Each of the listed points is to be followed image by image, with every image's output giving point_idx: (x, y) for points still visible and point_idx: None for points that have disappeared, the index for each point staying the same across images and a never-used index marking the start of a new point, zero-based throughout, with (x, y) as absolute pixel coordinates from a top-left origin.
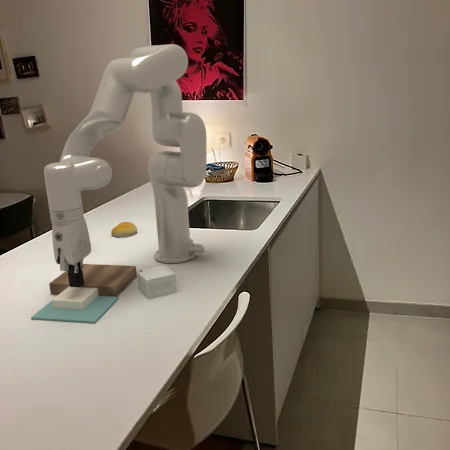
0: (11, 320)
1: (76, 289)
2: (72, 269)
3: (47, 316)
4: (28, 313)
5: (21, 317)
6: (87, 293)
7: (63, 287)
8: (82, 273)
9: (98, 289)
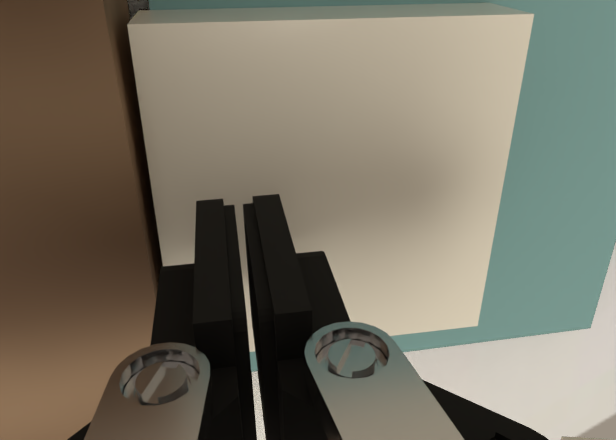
0: (579, 407)
1: None
2: (454, 418)
3: (590, 236)
4: (495, 383)
5: (546, 385)
6: (309, 75)
7: None
8: (209, 285)
9: (113, 21)
